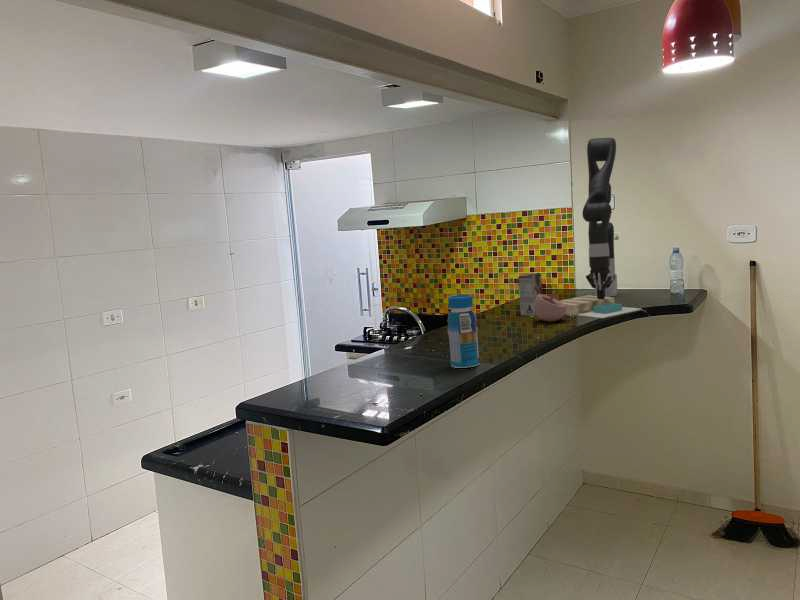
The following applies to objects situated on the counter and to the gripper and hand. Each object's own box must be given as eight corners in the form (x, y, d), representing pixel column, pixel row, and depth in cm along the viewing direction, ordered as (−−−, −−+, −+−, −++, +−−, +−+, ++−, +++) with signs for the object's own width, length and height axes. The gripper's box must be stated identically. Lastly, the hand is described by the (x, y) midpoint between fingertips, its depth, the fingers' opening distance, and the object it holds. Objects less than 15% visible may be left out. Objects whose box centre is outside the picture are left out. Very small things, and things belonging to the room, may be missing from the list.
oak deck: (588, 304, 260) (587, 295, 259) (614, 307, 248) (614, 297, 247) (549, 312, 249) (549, 302, 248) (575, 315, 237) (575, 305, 236)
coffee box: (528, 311, 255) (526, 273, 253) (543, 311, 251) (541, 273, 249) (520, 315, 247) (517, 276, 245) (535, 315, 244) (532, 275, 242)
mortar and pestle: (566, 323, 221) (564, 292, 220) (532, 324, 225) (531, 294, 224) (568, 318, 233) (566, 288, 231) (536, 319, 237) (534, 289, 235)
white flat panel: (616, 307, 247) (616, 306, 247) (641, 309, 236) (641, 308, 236) (577, 315, 236) (577, 314, 236) (602, 318, 226) (602, 317, 226)
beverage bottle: (445, 369, 171) (439, 298, 169) (458, 361, 178) (453, 294, 176) (472, 370, 167) (467, 298, 164) (485, 363, 174) (480, 293, 172)
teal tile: (621, 304, 236) (622, 310, 237) (609, 302, 241) (609, 309, 242) (605, 307, 232) (606, 313, 232) (593, 306, 237) (593, 312, 237)
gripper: (619, 254, 233) (621, 299, 235) (592, 254, 244) (594, 296, 247) (605, 256, 229) (607, 301, 231) (579, 256, 241) (581, 299, 243)
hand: (601, 299), depth 239 cm, fingers closed
